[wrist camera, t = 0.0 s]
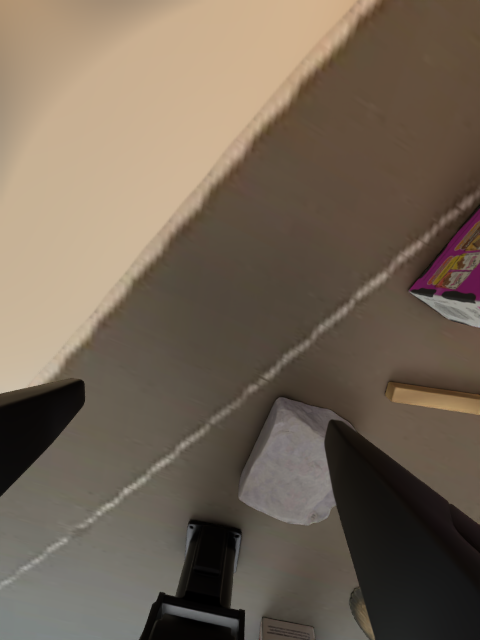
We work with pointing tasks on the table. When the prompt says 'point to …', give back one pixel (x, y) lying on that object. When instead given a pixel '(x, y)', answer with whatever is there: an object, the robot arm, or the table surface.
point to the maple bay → (433, 397)
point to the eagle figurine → (361, 613)
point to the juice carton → (284, 630)
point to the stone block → (290, 465)
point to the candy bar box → (455, 277)
